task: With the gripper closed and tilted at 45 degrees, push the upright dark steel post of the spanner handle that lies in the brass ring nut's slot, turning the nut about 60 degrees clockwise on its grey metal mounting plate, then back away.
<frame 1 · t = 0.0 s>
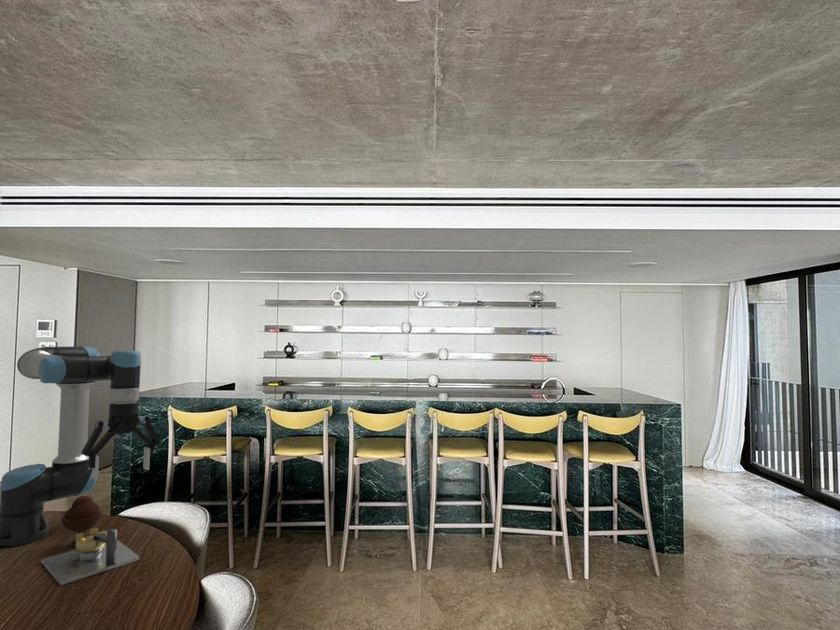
hand: (121, 474, 142), 28 cm above the table, tool pointing down, fingers open, 13 cm apart
mounting plate: (90, 561, 146), on the table
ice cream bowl: (80, 544, 158), on the table
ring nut: (98, 543, 145), point 6 cm above the table, hinge at 15.0°
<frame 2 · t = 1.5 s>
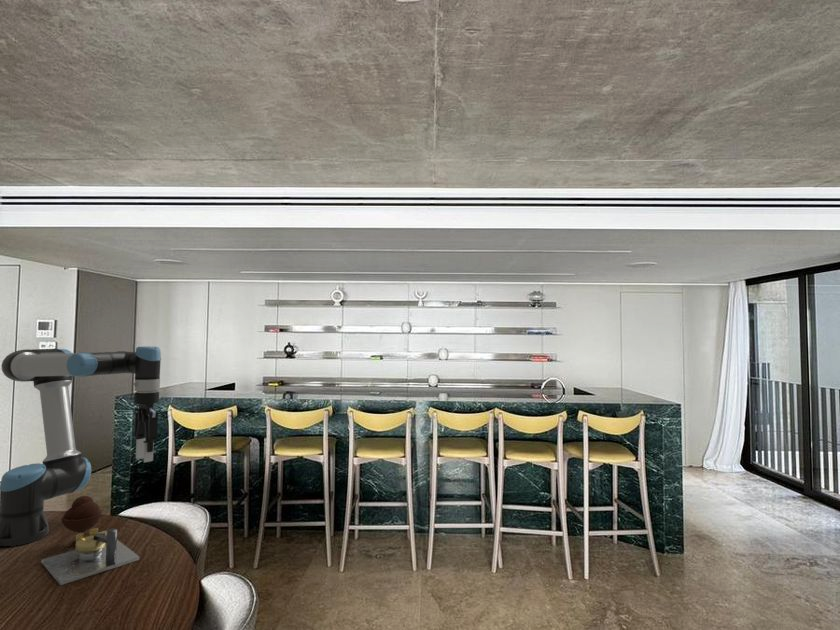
hand: (144, 459, 163), 27 cm above the table, tool pointing down, fingers open, 6 cm apart
nothing on the table moved.
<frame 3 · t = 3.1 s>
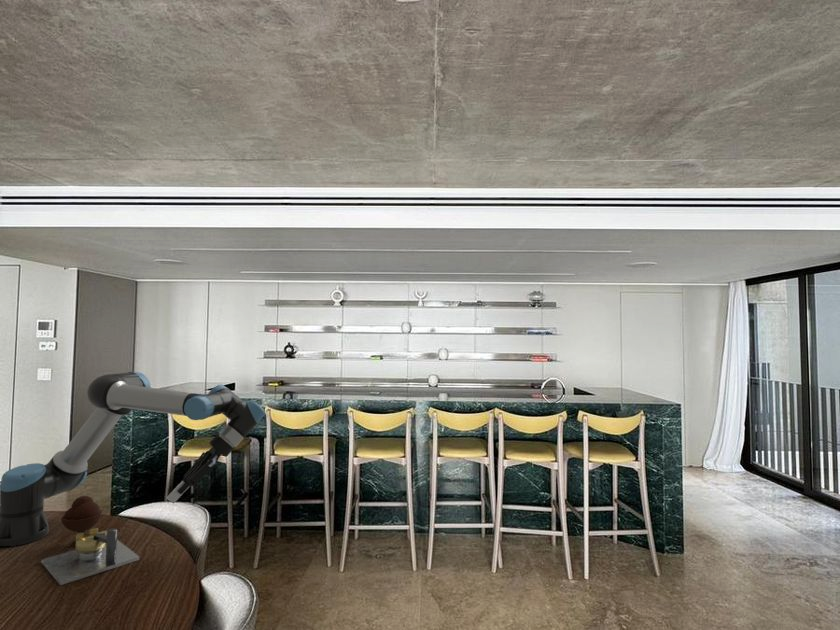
hand: (169, 500, 152), 17 cm above the table, tool tilted 45°, fingers closed
nothing on the table moved.
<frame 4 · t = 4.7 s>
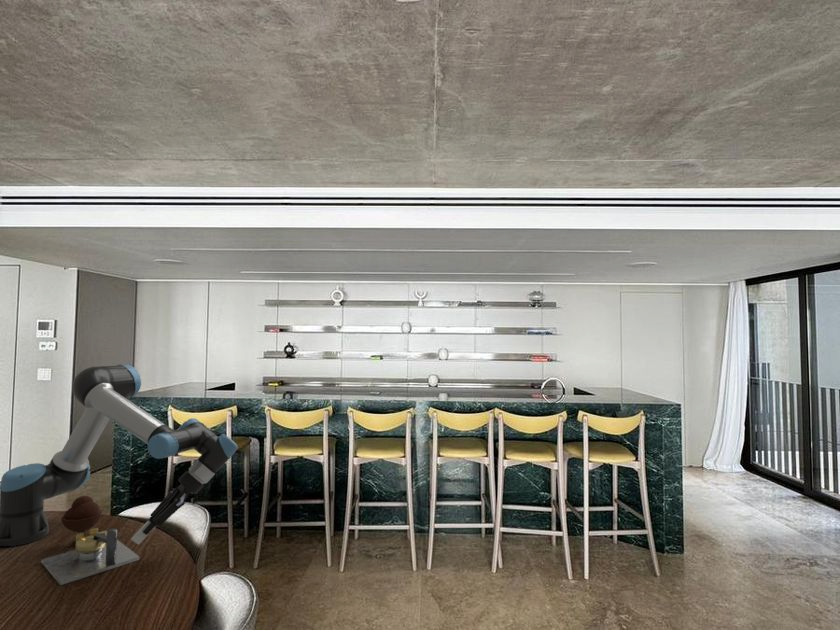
hand: (134, 541, 146), 6 cm above the table, tool tilted 45°, fingers closed
nothing on the table moved.
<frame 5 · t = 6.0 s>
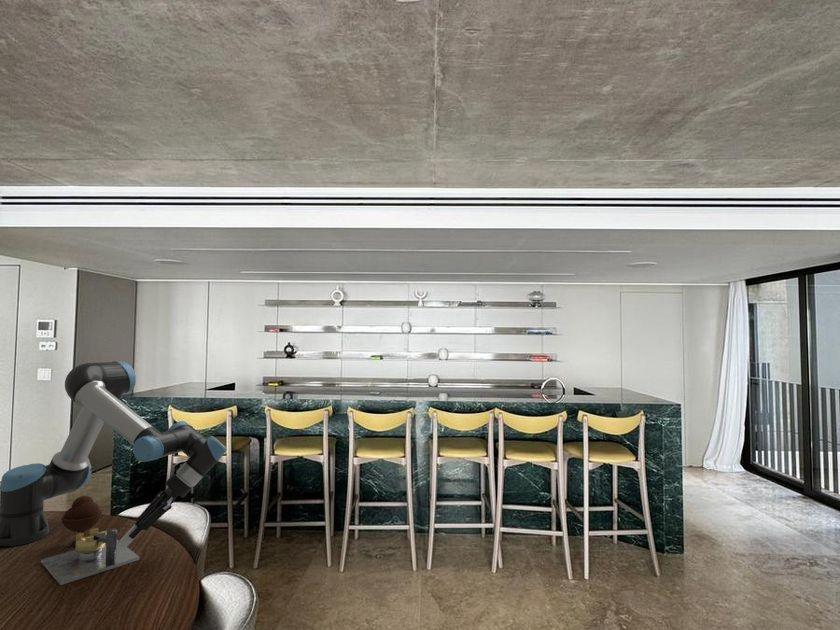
hand: (121, 545, 144), 6 cm above the table, tool tilted 45°, fingers closed
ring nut: (98, 543, 145), point 6 cm above the table, hinge at 14.7°, touching gripper
everything else where it was.
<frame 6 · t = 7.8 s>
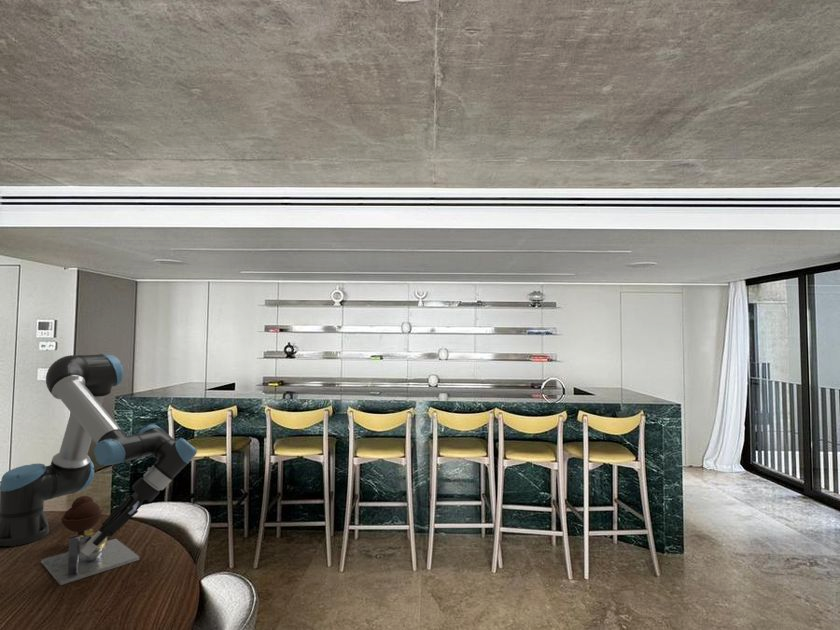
hand: (84, 552, 138), 6 cm above the table, tool tilted 45°, fingers closed, pressing on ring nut
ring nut: (85, 545, 143), point 6 cm above the table, hinge at -42.0°, touching gripper
everything else where it was.
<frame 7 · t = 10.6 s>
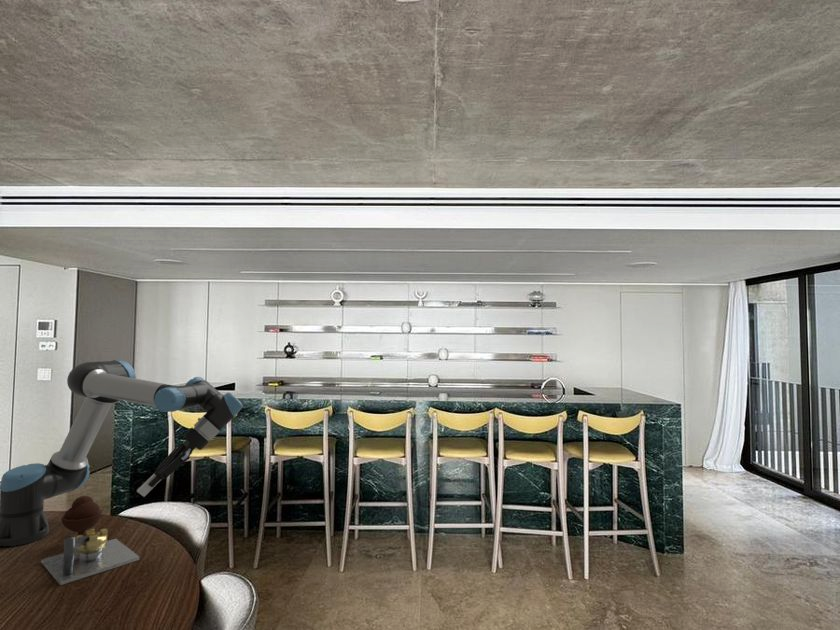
hand: (140, 493, 147), 20 cm above the table, tool tilted 45°, fingers closed
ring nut: (83, 545, 143), point 6 cm above the table, hinge at -49.9°
everything else where it was.
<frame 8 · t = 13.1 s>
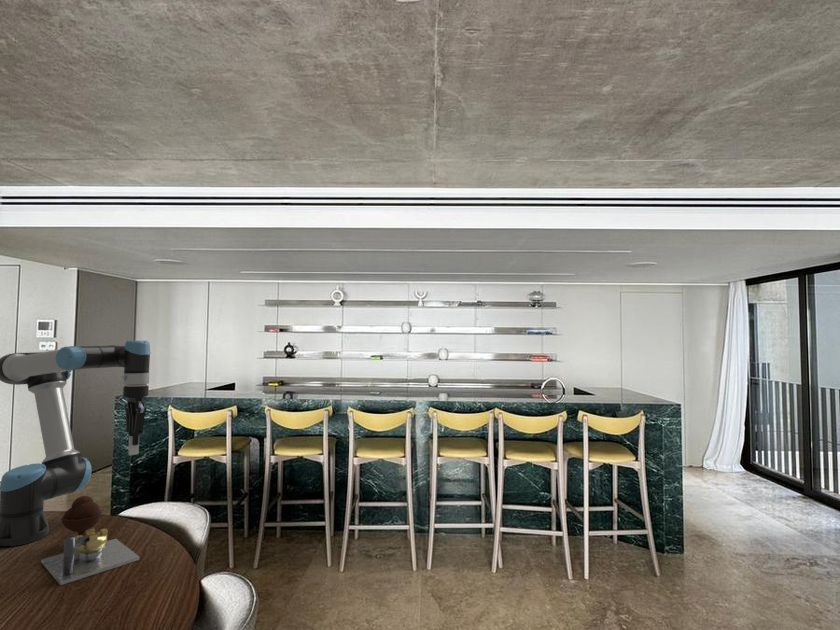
hand: (133, 454, 164), 28 cm above the table, tool pointing down, fingers closed
nothing on the table moved.
at the end: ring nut at -50° (first picture: +15°); the gripper is holding nothing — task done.
